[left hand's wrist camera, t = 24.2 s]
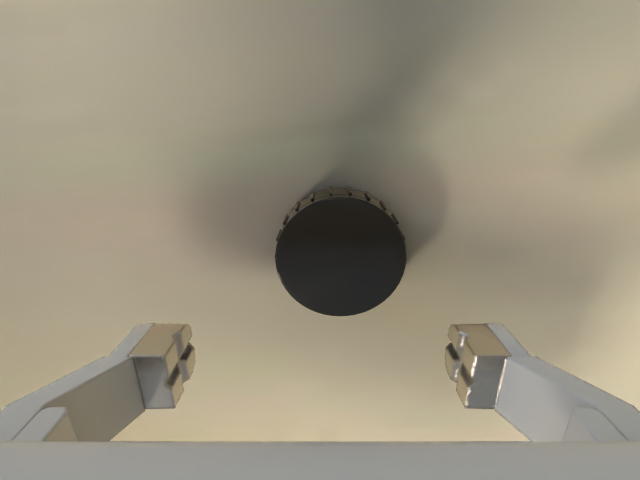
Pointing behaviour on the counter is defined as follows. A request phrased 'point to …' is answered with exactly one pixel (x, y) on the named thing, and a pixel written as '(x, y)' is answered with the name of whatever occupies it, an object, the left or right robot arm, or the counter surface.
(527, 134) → the counter surface
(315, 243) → the lid
